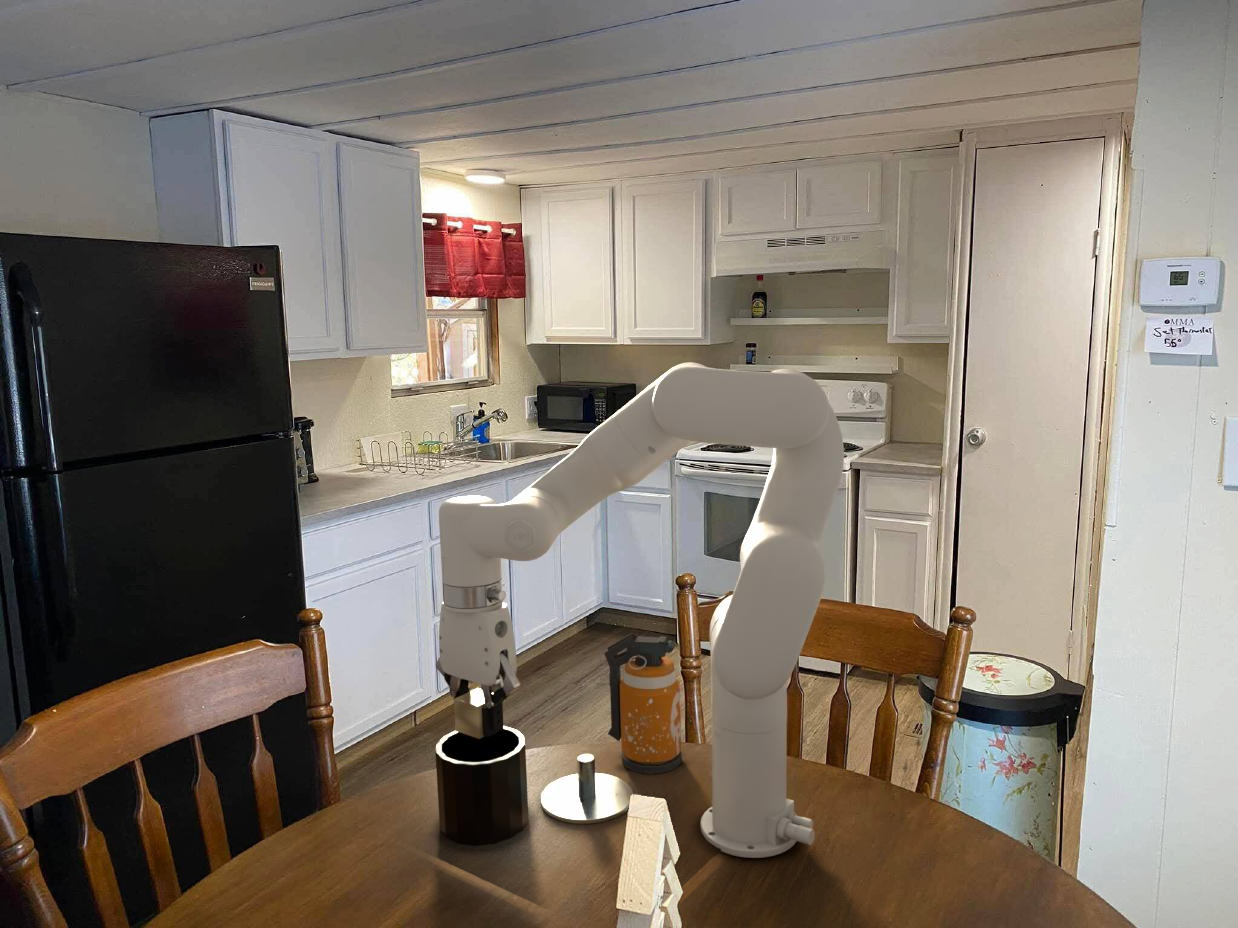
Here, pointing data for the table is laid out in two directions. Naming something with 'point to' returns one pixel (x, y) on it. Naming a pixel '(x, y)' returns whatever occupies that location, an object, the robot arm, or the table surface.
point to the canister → (645, 703)
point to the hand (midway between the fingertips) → (479, 726)
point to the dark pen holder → (482, 787)
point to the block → (469, 713)
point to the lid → (586, 795)
